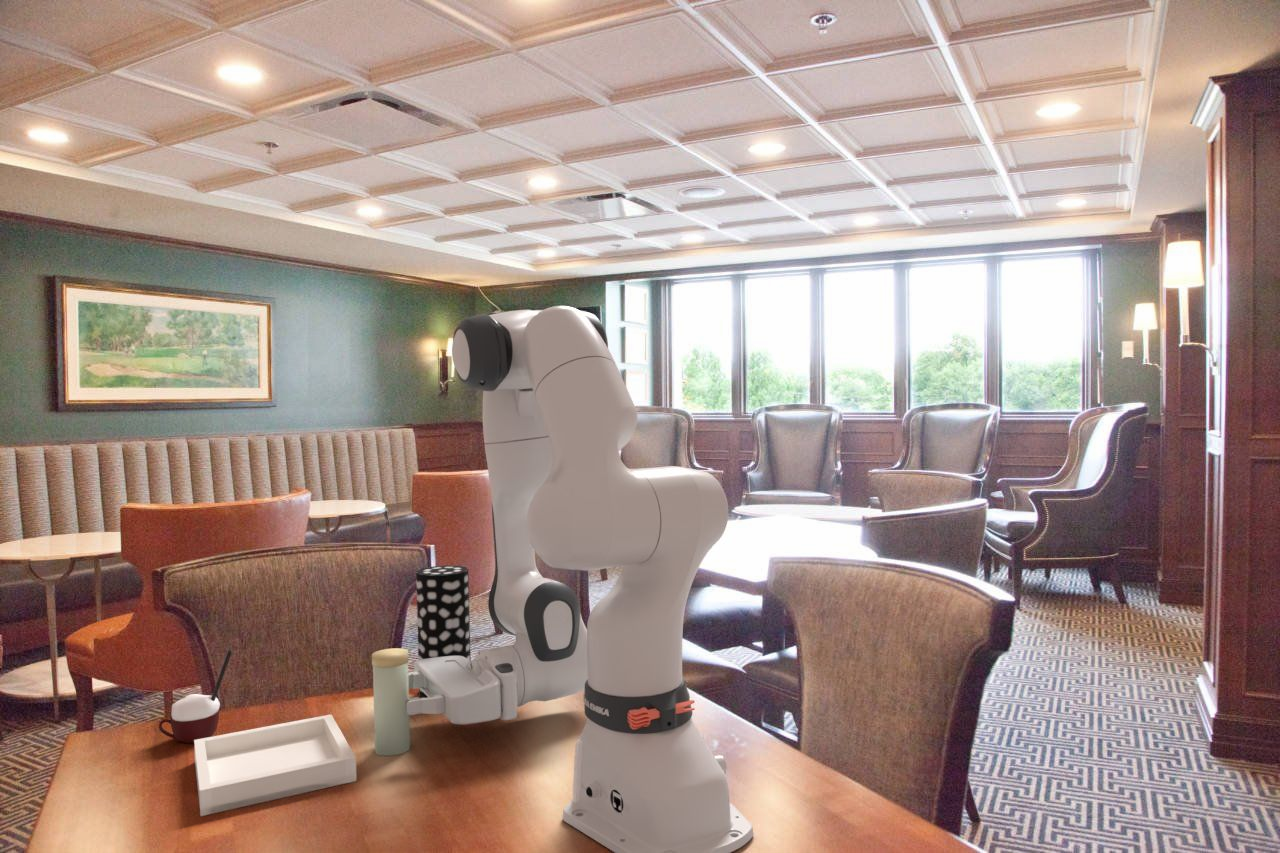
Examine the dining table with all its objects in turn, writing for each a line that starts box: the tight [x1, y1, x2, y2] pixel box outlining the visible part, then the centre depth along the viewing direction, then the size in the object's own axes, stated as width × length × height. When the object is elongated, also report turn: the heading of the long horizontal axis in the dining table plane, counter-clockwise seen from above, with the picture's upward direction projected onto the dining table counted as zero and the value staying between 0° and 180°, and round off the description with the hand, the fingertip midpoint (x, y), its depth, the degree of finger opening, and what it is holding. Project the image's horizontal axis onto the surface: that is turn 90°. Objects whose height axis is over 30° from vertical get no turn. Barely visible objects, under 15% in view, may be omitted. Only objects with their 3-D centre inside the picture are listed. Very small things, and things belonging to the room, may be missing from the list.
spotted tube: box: [415, 565, 472, 698], centre depth 139 cm, size 8×8×20 cm
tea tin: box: [371, 647, 411, 757], centre depth 116 cm, size 5×5×13 cm
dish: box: [193, 713, 357, 817], centre depth 110 cm, size 17×17×3 cm
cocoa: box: [158, 648, 233, 744], centre depth 122 cm, size 10×6×12 cm, turn 92°
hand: (397, 697), depth 117 cm, fingers open, 8 cm apart
